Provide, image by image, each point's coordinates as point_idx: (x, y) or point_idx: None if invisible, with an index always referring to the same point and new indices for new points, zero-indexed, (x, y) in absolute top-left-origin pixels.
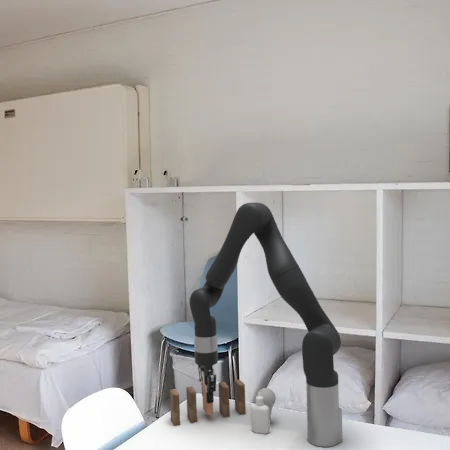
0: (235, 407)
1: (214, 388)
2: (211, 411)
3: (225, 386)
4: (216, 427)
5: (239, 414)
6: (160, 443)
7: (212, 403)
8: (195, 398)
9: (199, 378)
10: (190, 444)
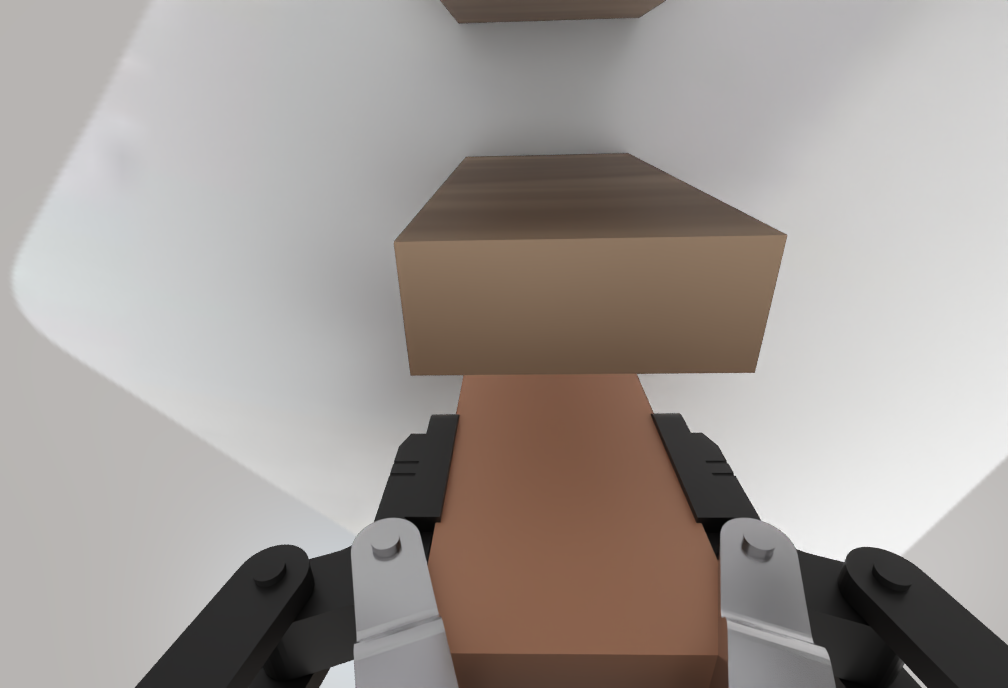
0: (474, 18)
1: (961, 632)
2: None
3: (724, 304)
4: (776, 334)
5: (622, 17)
6: None
7: (648, 404)
8: None
9: (273, 685)
10: (904, 538)
